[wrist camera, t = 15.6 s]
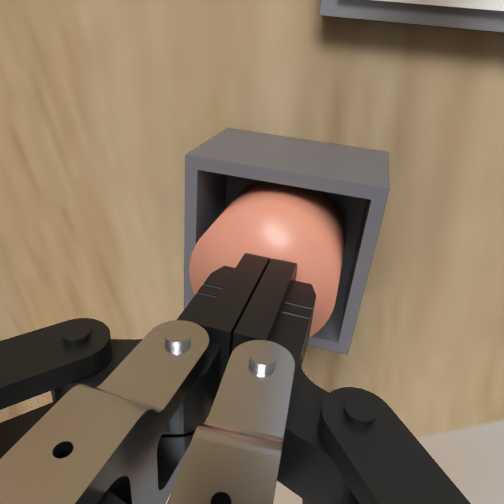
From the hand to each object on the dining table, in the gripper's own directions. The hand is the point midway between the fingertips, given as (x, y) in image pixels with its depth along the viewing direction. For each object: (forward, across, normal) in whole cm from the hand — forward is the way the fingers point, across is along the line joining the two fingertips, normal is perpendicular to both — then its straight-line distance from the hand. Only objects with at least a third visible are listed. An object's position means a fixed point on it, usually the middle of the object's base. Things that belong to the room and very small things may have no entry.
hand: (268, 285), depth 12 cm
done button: (+3, 0, 0) cm, 3 cm away
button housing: (+6, 0, 0) cm, 6 cm away
